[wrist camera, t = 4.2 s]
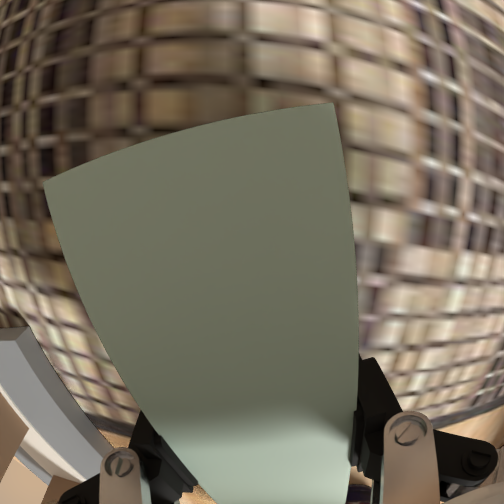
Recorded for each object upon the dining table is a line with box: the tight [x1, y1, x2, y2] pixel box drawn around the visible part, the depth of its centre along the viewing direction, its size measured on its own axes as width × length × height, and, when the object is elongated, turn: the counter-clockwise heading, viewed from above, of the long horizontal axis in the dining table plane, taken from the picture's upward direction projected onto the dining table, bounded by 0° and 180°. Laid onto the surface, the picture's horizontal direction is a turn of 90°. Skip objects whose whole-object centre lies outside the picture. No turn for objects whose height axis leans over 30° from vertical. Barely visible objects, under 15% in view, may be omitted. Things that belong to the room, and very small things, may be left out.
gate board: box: [0, 326, 114, 504], centre depth 9 cm, size 20×14×9 cm
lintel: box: [43, 103, 359, 504], centre depth 8 cm, size 16×5×4 cm, turn 12°
